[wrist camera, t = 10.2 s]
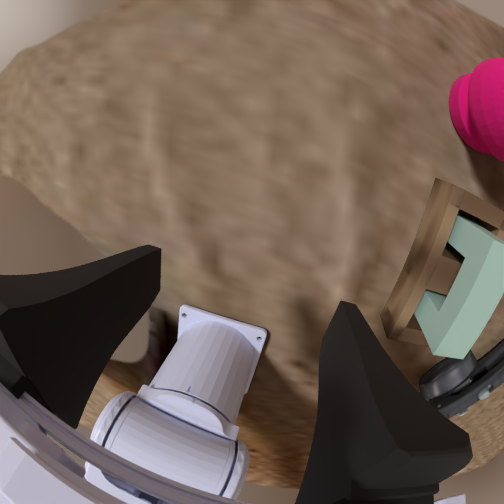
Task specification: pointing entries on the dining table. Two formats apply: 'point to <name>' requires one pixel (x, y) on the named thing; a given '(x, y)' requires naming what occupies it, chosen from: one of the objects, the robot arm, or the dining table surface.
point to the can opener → (462, 381)
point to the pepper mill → (480, 107)
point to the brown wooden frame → (434, 258)
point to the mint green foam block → (464, 292)
